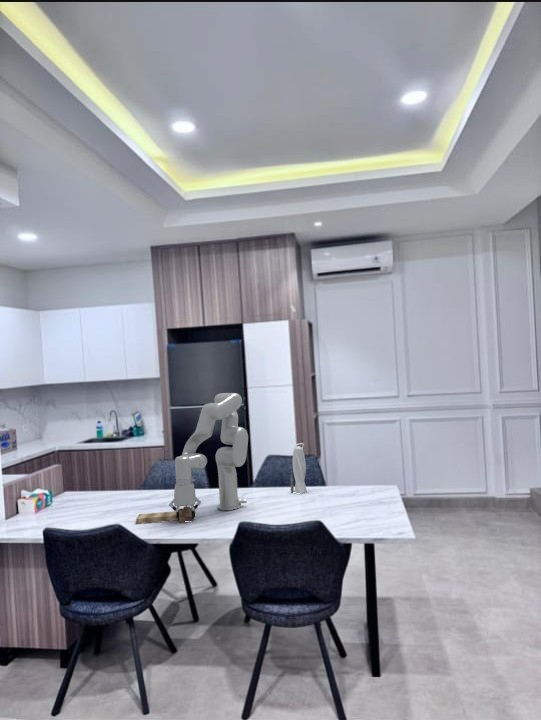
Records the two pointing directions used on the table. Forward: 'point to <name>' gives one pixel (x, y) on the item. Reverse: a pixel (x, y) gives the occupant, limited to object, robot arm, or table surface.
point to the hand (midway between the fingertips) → (185, 518)
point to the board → (156, 517)
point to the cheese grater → (298, 470)
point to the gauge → (185, 514)
